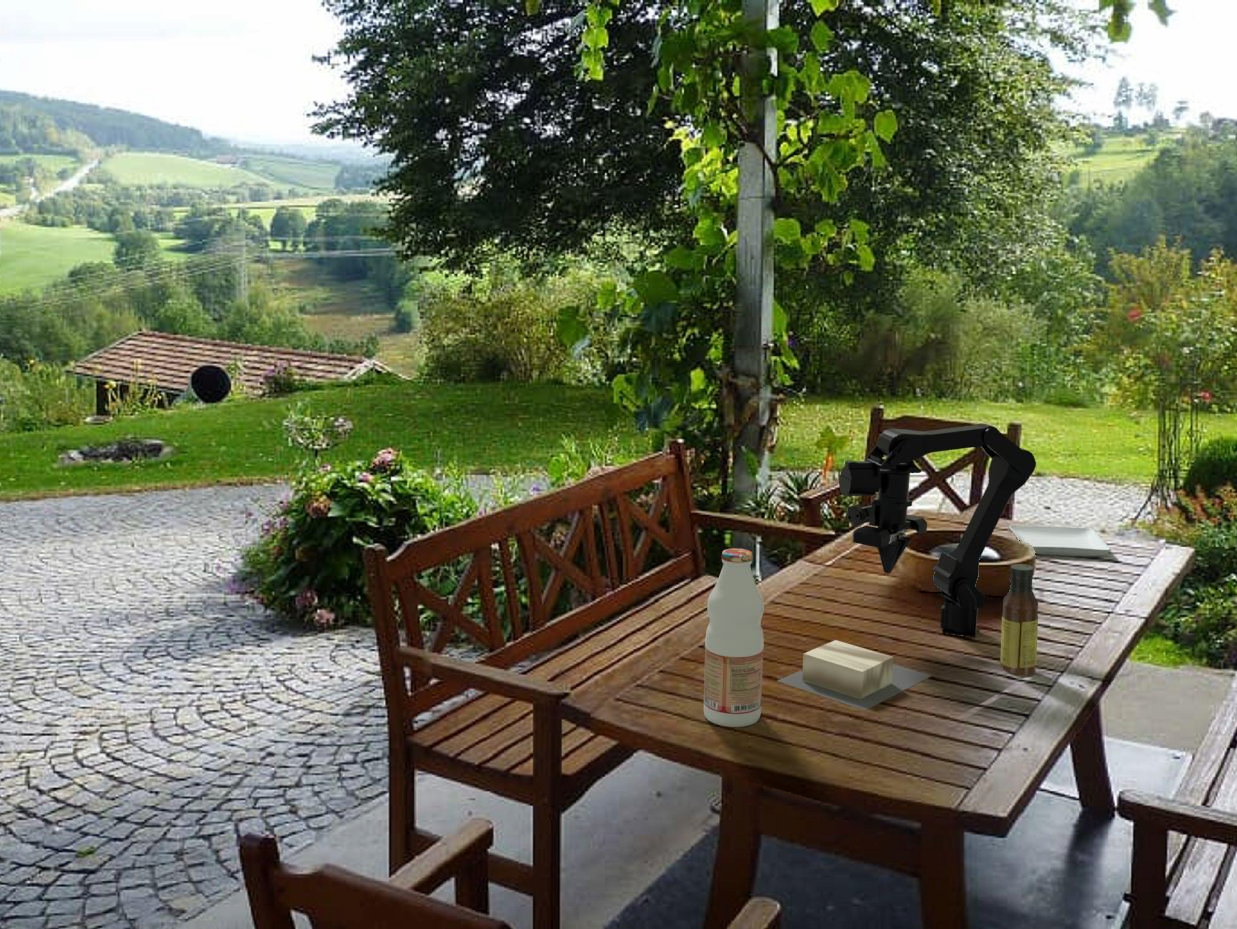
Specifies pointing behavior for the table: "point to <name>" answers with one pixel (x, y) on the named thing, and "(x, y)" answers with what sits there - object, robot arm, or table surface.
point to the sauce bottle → (1019, 623)
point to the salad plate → (1061, 540)
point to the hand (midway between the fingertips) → (887, 572)
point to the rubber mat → (900, 682)
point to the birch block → (847, 669)
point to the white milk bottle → (734, 645)
